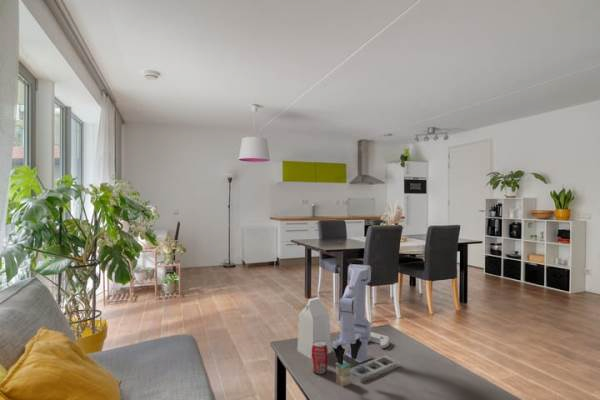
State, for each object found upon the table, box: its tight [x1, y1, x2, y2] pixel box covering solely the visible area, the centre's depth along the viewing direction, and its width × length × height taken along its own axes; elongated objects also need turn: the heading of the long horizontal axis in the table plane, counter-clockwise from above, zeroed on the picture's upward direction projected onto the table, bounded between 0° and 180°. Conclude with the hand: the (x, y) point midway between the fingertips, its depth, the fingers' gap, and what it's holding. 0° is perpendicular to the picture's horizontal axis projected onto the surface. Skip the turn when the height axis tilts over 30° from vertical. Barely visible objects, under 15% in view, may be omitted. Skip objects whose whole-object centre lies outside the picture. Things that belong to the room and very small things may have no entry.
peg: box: [335, 359, 352, 388], centre depth 139 cm, size 4×4×8 cm
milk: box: [296, 297, 332, 360], centre depth 167 cm, size 12×12×26 cm
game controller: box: [367, 331, 391, 349], centre depth 177 cm, size 14×4×10 cm
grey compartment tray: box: [350, 354, 400, 384], centre depth 149 cm, size 8×24×2 cm, turn 124°
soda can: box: [310, 341, 329, 375], centre depth 149 cm, size 7×7×12 cm
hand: (347, 361), depth 138 cm, fingers open, 7 cm apart
